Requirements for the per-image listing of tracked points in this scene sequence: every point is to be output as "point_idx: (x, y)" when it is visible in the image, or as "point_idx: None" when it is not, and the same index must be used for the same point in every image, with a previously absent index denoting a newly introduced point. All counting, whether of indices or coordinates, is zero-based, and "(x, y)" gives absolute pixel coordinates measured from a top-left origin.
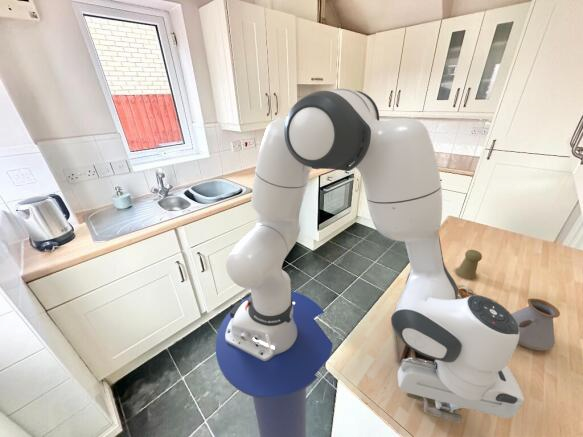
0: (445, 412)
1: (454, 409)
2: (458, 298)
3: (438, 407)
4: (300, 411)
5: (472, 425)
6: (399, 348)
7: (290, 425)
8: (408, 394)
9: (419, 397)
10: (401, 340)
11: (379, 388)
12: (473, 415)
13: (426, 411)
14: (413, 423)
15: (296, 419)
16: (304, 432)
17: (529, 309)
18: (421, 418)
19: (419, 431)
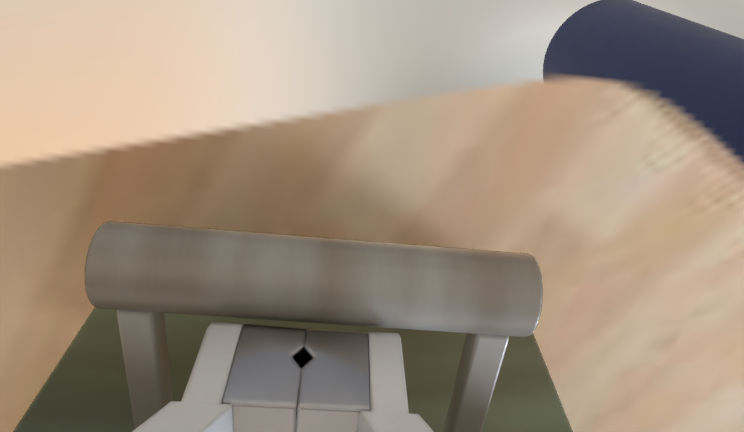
0: (290, 310)
1: (174, 402)
2: None
3: (393, 367)
4: (706, 126)
5: (24, 202)
6: None
7: (730, 80)
8: (535, 345)
9: (443, 338)
10: None
11: (715, 331)
12: (6, 270)
13: (532, 279)
14: (533, 137)
15: (711, 101)
16: None
17: None
18: (446, 184)
19: (502, 84)
